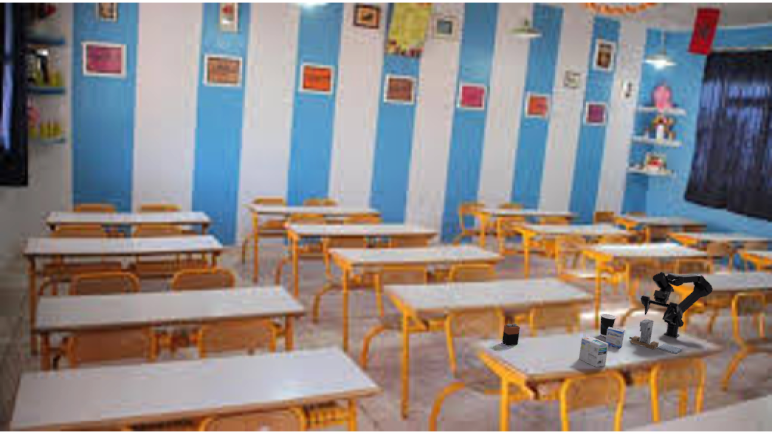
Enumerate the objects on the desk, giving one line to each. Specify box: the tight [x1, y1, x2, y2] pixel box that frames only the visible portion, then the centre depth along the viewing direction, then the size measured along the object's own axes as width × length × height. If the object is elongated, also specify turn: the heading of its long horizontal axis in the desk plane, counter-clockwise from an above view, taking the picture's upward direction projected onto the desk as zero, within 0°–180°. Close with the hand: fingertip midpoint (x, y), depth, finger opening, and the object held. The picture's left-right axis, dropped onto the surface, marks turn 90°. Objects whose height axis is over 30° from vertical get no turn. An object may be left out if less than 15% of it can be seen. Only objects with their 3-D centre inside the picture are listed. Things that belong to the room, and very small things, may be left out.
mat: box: [657, 343, 683, 355], centre depth 335 cm, size 9×9×1 cm
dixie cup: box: [600, 313, 617, 338], centre depth 347 cm, size 8×8×11 cm
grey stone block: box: [639, 318, 655, 345], centre depth 336 cm, size 8×4×13 cm, turn 139°
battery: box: [501, 323, 521, 346], centre depth 322 cm, size 4×7×10 cm, turn 116°
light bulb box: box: [578, 336, 609, 368], centre depth 306 cm, size 11×7×11 cm, turn 33°
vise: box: [629, 335, 659, 350], centre depth 339 cm, size 6×14×2 cm, turn 49°
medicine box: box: [604, 327, 626, 349], centre depth 333 cm, size 8×4×9 cm, turn 62°
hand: (653, 316), depth 343 cm, fingers open, 9 cm apart
